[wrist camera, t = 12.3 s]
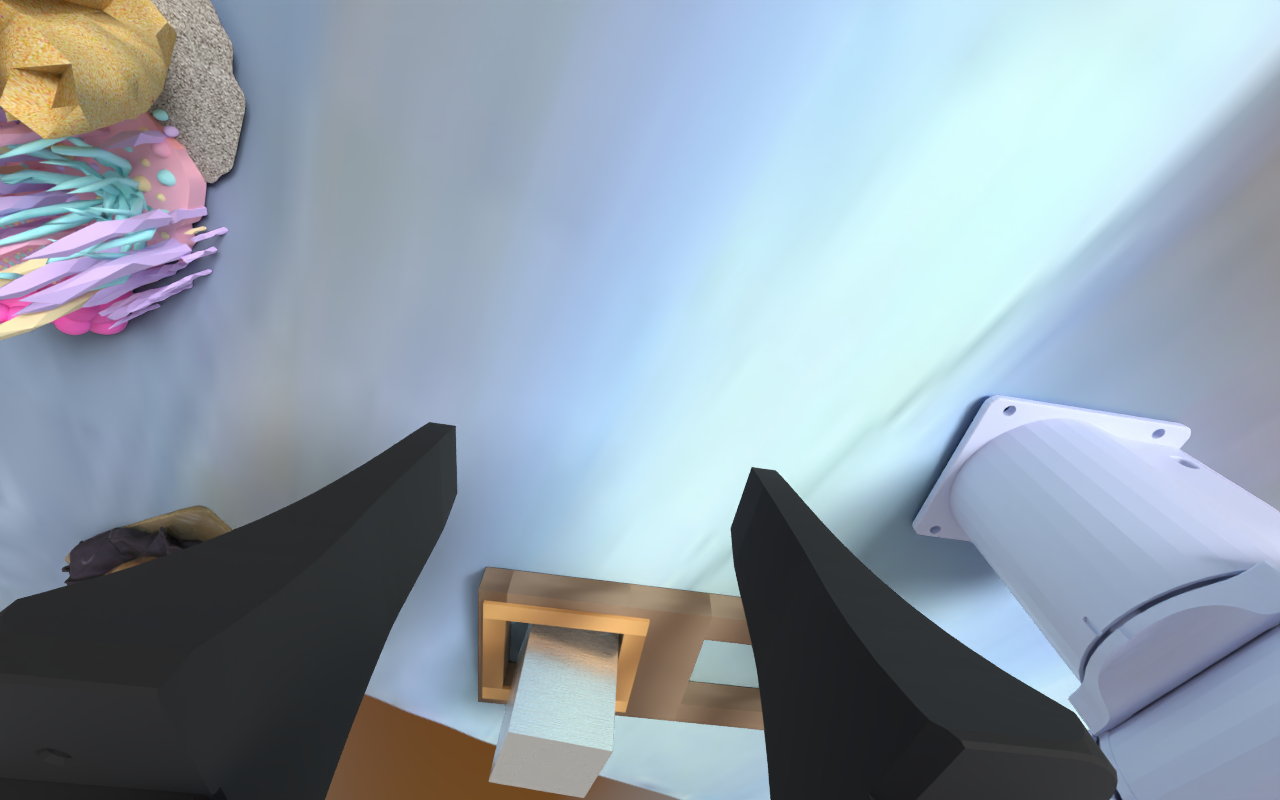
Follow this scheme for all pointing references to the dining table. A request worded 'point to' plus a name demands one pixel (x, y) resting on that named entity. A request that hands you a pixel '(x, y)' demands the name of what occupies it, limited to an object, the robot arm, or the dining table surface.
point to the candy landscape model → (107, 154)
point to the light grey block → (559, 711)
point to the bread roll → (142, 542)
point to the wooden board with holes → (622, 641)
